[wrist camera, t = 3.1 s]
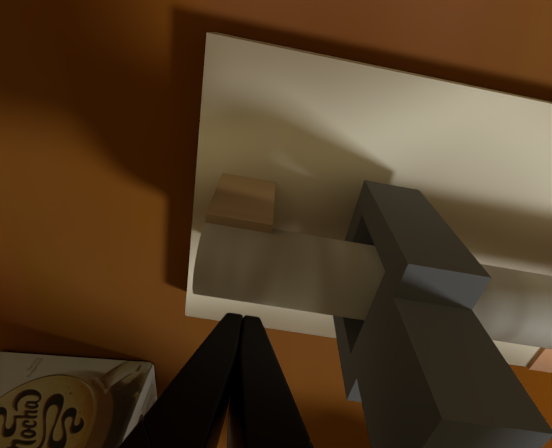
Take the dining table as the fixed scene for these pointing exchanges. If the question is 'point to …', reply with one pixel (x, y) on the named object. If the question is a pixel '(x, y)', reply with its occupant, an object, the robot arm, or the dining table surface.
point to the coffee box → (71, 400)
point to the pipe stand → (348, 183)
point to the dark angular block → (428, 338)
